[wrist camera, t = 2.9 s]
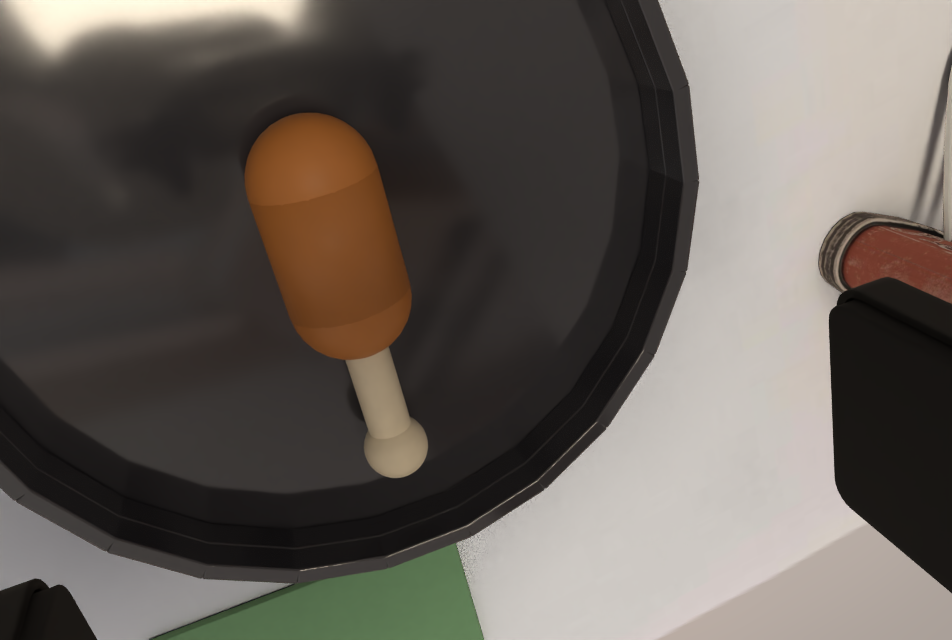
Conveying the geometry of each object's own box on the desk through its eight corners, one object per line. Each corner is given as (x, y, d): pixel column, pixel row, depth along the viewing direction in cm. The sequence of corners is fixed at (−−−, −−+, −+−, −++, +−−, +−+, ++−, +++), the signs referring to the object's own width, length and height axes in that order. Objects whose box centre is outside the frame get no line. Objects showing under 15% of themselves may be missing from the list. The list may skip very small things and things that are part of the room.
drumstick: (442, 425, 26) (471, 481, 23) (342, 461, 25) (360, 523, 22) (347, 88, 21) (370, 107, 18) (223, 123, 21) (226, 147, 18)
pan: (98, 622, 25) (89, 684, 23) (-310, -99, 17) (-388, -111, 15) (686, 403, 29) (726, 439, 27) (599, -286, 20) (647, -318, 18)
